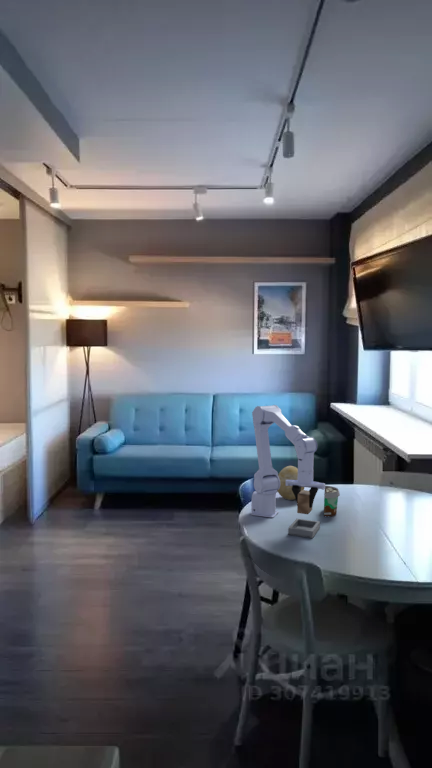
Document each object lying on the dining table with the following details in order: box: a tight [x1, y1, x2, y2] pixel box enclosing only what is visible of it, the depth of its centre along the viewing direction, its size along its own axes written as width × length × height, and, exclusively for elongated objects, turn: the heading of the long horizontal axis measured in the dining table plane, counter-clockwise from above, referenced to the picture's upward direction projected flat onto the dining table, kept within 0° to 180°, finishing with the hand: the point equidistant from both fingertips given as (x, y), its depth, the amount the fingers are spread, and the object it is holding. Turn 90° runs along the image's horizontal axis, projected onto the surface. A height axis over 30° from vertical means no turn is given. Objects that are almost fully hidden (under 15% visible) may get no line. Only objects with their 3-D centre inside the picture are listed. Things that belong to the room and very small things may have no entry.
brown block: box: [296, 489, 313, 515], centre depth 212 cm, size 4×7×7 cm, turn 158°
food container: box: [323, 485, 341, 518], centre depth 233 cm, size 12×6×10 cm, turn 168°
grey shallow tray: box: [287, 518, 321, 539], centre depth 211 cm, size 9×12×2 cm
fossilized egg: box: [277, 465, 305, 501], centre depth 253 cm, size 13×13×15 cm
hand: (304, 506), depth 212 cm, fingers closed on brown block, 4 cm apart
